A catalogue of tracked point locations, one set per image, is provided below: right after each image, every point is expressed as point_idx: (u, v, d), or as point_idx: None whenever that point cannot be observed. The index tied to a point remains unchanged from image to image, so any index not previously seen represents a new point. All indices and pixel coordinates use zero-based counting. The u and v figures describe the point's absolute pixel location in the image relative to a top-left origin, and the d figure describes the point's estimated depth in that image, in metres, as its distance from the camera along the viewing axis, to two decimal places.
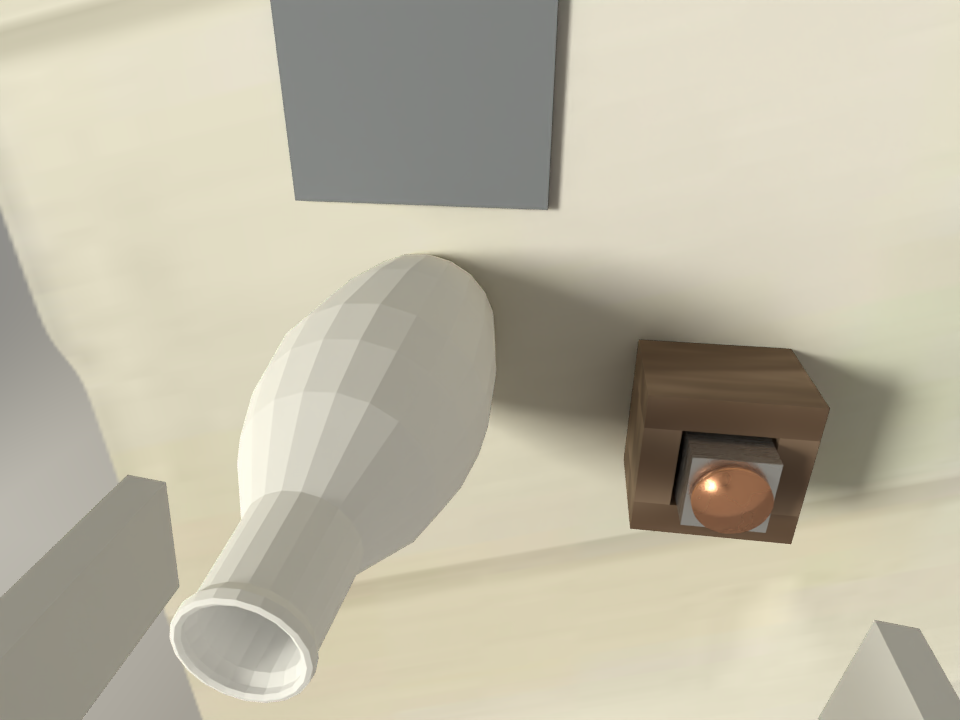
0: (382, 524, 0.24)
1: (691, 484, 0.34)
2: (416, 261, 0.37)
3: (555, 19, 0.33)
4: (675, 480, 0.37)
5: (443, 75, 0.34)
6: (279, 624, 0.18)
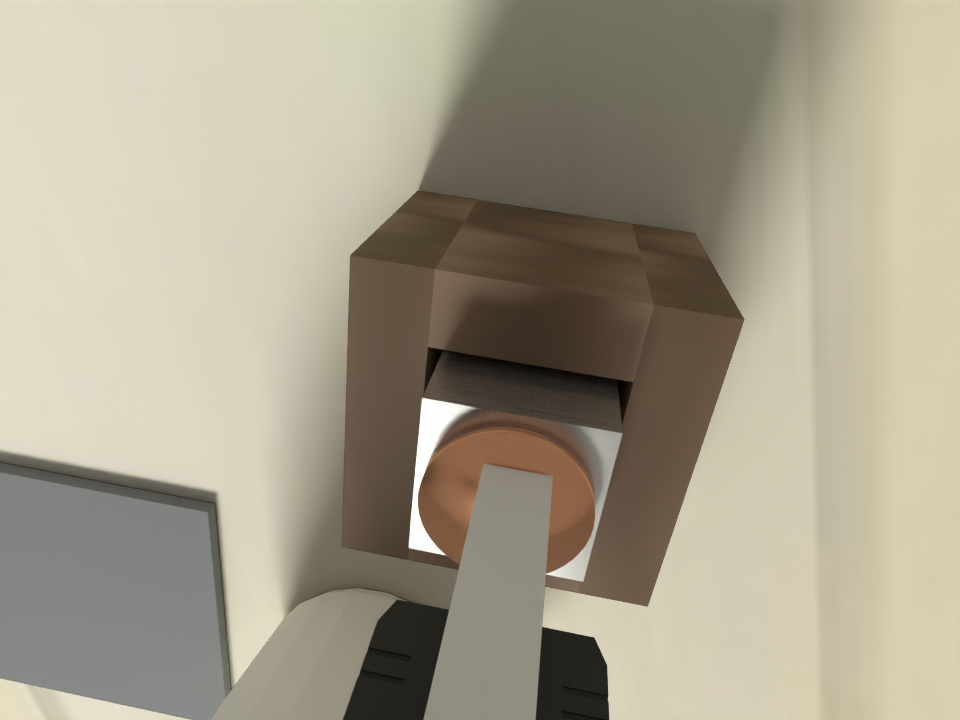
0: None
1: None
2: None
3: (1, 473, 0.29)
4: None
5: (79, 579, 0.31)
6: None
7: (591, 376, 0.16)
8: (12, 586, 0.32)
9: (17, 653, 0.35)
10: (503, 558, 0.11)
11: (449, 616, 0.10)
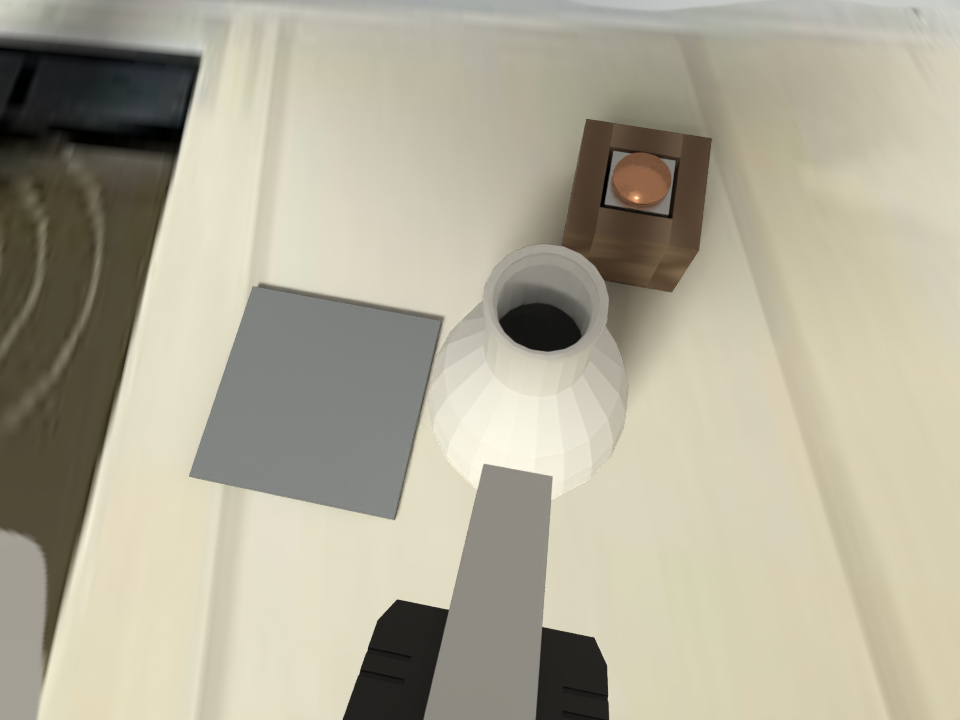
0: None
1: (629, 205, 0.45)
2: None
3: (319, 299, 0.50)
4: None
5: (332, 376, 0.48)
6: (511, 255, 0.23)
7: None
8: (278, 385, 0.48)
9: (245, 451, 0.47)
10: (503, 558, 0.11)
11: (449, 616, 0.10)
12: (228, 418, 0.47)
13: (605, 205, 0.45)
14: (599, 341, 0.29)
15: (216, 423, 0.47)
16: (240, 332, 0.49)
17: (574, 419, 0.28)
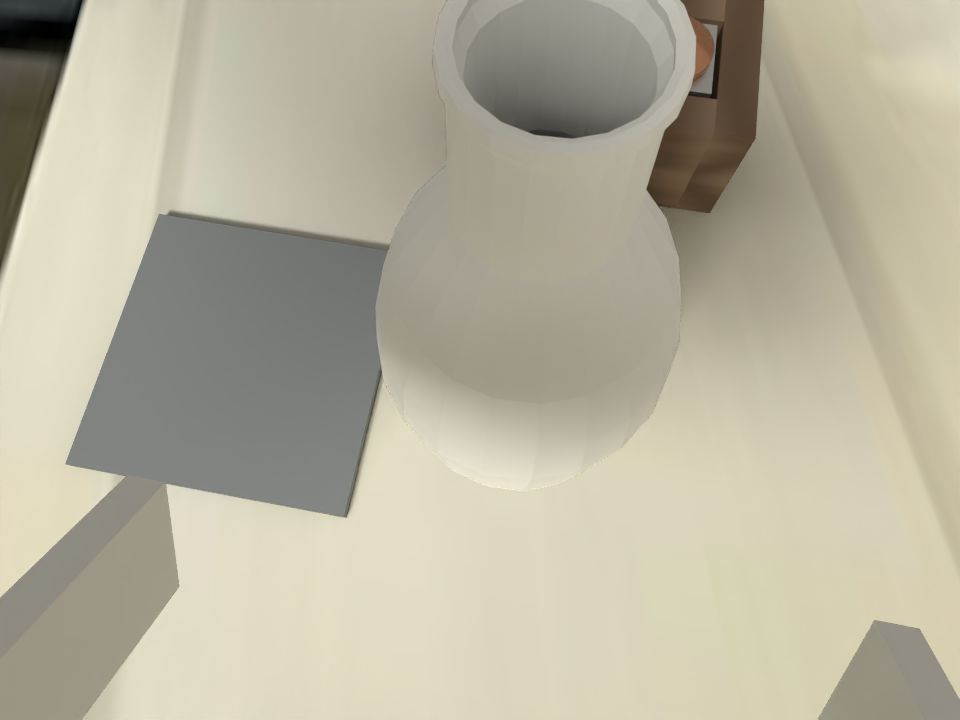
0: None
1: None
2: None
3: (247, 229, 0.38)
4: None
5: (263, 327, 0.36)
6: None
7: None
8: (190, 340, 0.36)
9: (143, 429, 0.34)
10: None
11: None
12: (121, 385, 0.35)
13: None
14: (648, 199, 0.17)
15: (105, 392, 0.35)
16: (141, 273, 0.37)
17: (608, 332, 0.17)
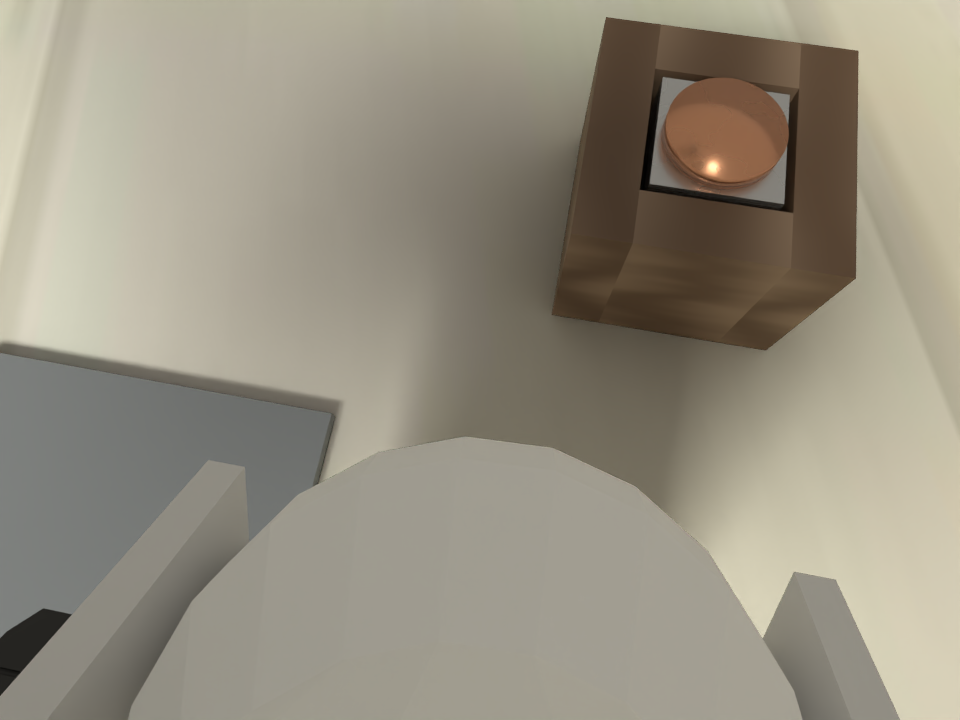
0: (473, 573, 0.06)
1: (700, 186, 0.21)
2: None
3: (104, 373, 0.27)
4: None
5: (116, 528, 0.25)
6: None
7: None
8: (8, 549, 0.24)
9: None
10: (844, 701, 0.10)
11: (62, 628, 0.09)
12: None
13: (651, 186, 0.22)
14: None
15: None
16: None
17: None
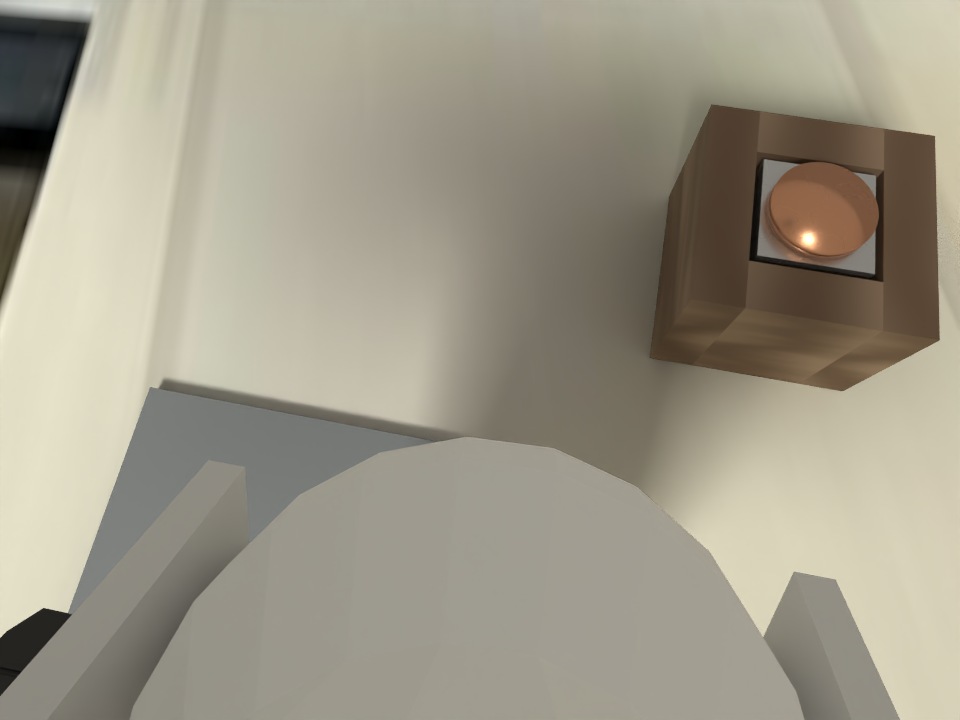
0: (476, 573, 0.06)
1: (801, 257, 0.25)
2: None
3: (259, 409, 0.30)
4: None
5: None
6: None
7: None
8: None
9: None
10: (843, 700, 0.10)
11: (63, 628, 0.09)
12: None
13: (757, 257, 0.25)
14: None
15: None
16: (125, 468, 0.29)
17: None
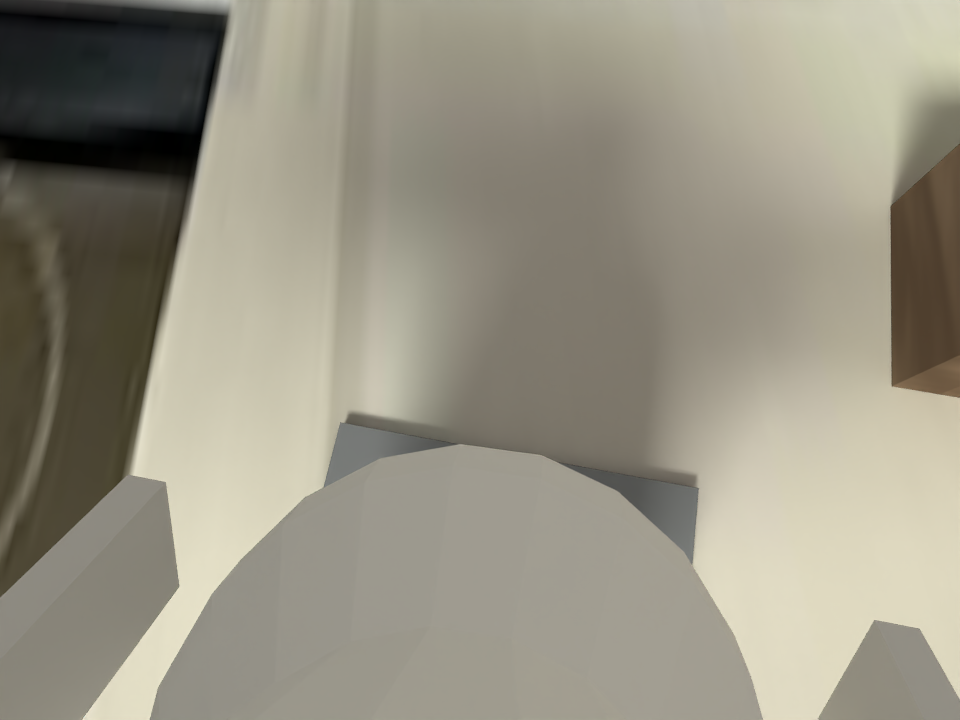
0: (462, 569, 0.07)
1: None
2: None
3: None
4: None
5: None
6: None
7: None
8: None
9: None
10: None
11: None
12: None
13: None
14: None
15: None
16: None
17: None
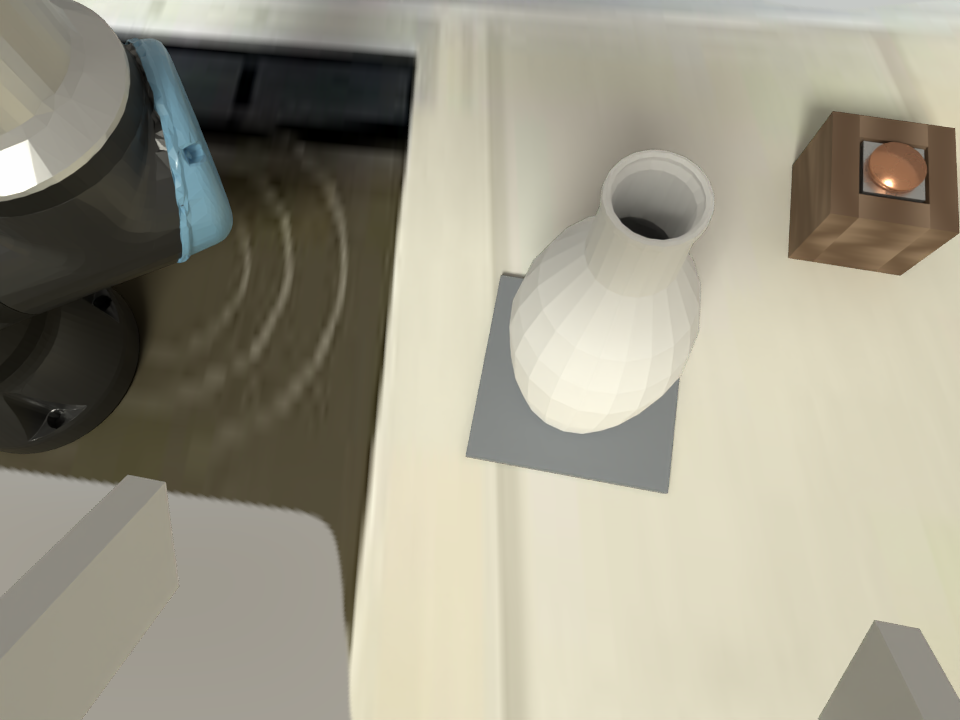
0: None
1: (886, 192, 0.47)
2: None
3: None
4: None
5: None
6: (625, 159, 0.26)
7: None
8: None
9: (516, 431, 0.49)
10: None
11: None
12: (495, 400, 0.50)
13: (863, 192, 0.48)
14: None
15: (484, 405, 0.49)
16: (495, 318, 0.52)
17: (664, 322, 0.31)
